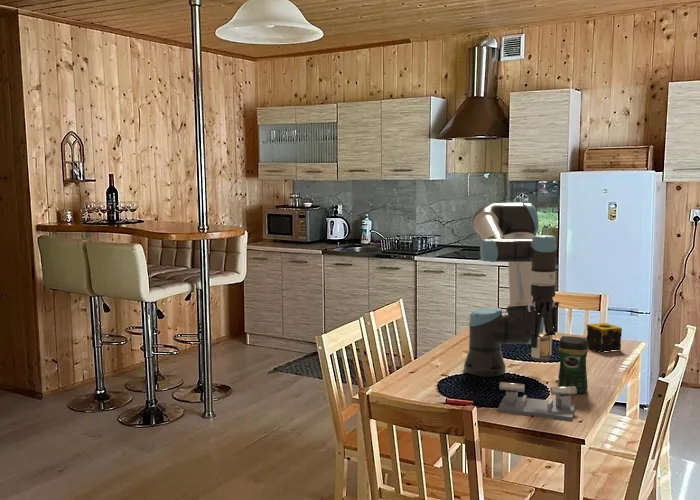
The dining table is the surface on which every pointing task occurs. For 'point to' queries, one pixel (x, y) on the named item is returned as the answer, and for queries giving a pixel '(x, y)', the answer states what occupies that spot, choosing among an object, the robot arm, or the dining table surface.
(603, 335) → the candle
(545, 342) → the cylinder
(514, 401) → the shaft left
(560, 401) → the shaft right
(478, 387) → the dining table surface
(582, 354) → the coffee jar
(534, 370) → the dining table surface
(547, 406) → the grey mounting plate
